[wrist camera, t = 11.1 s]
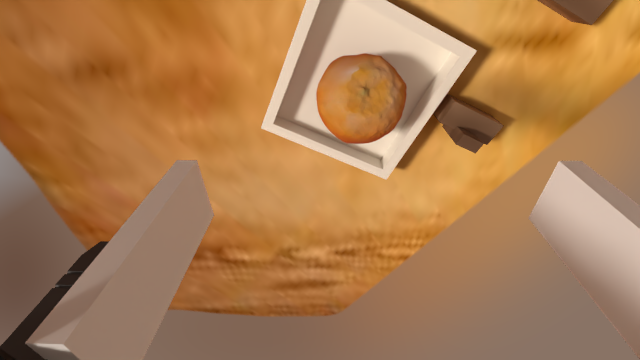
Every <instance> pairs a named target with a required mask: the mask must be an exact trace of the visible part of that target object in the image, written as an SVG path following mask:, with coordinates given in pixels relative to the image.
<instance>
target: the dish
mask: <svg viewBox="0 0 640 360" xmlns="http://www.w3.org/2000/svg"><path fill="white" fill-rule="evenodd" d="M476 51H477V50H475V49H473V48H471V47H469V46H468V45H466V44H464V43H462V42H460V41H459V40H457V39H455V38H453V37H451V36H450V35H448V34H446V33H444V32H442V31H441V30H439V29H437V28H435V27H433V26H431V25H430V24H428V23H426V22H424V21H422V20H421V19H419V18H417V17H415V16H413V15H412V14H410V13H408V12H406V11H404V10H403V9H401V8H399V7H397V6H395V5H394V4H392V3H390V2H388V1H386V0H307V1H306V3H305V6H304V9H303V12H302V15H301V17H300V20H299V23H298V26H297V29H296V31H295V34H294V37H293V40H292V43H291V45H290V48H289V51H288V54H287V57H286V59H285V62H284V65H283V68H282V71H281V73H280V76H279V79H278V82H277V85H276V87H275V90H274V93H273V96H272V99H271V101H270V104H269V107H268V110H267V113H266V115H265V118H264V121H263V124H262V127H261V128H262V129H264V130H267V131H269V132H272V133H274V134H276V135H279V136H281V137H284V138H286V139H289V140H291V141H293V142H296V143H298V144H301V145H303V146H306V147H308V148H311V149H313V150H315V151H318V152H320V153H323V154H325V155H328V156H330V157H332V158H335V159H337V160H340V161H342V162H345V163H347V164H350V165H352V166H354V167H357V168H359V169H362V170H364V171H367V172H369V173H371V174H374V175H376V176H379V177H381V178H384V179H387V178H388V176H389V175H390V174H391V172H392V171H393V169H394V168H395V167H396V165H397V164H398V162H399V161H400V159H401V158H402V157H403V155H404V154H405V152H406V151H407V149H408V148H409V147H410V145H411V144H412V142H413V141H414V140H415V138H416V137H417V135H418V134H419V132H420V131H421V130H422V128H423V127H424V125H425V124H426V122H427V121H428V120H429V118H430V117H431V115H432V114H433V113H434V111H435V110H436V108H437V107H438V105H439V104H440V103H441V101H442V100H443V98H444V97H445V95H446V94H447V93H448V91H449V90H450V88H451V87H452V86H453V84H454V83H455V81H456V80H457V78H458V77H459V76H460V74H461V73H462V71H463V70H464V68H465V67H466V66H467V64H468V63H469V61H470V60H471V58H472V57H473V56H474V54H475V53H476ZM364 53H367V54H372V55H379V56H382V57H383V58H384V59H385V60H386V61H387V62H388V63H390V64H391V65H392V66H393V67H394V68H395V69H396V71H397V72H398V74H399V75H400V76H401V77H402V79H403V80H404V82H405V83H406V86H407V89H406V94H407V95H406V102H405V107H404V110H403V113H402V117H401V119H400V120H399V122H398V123H397V125H396V126H395V128H394V129H393V130H392V131H391V132H390V133H388V134H387V135H385V136H384V137H382V138H380V139H379V140H377V141H374V142H371V143H364V144H351V143H345V142H343V141H341V140H340V139H338V138H337V137H336V136H335V135H333V134H332V133H331V132H330V131H329V130H328V129H327V127H326V126H325V125H324V123H323V121H322V120H321V117H320V115H319V113H318V108H317V100H316V92H317V87H318V83H319V81H320V79H321V78H322V76H323V74H324V72H325V70H326V69H327V67H328V66H329V64H330V63H331V62H332V61H334V60H335V59H337V58H339V57H341V56H346V55H359V54H364Z"/></svg>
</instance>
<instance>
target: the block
mask: <svg viewBox="0 0 640 360" xmlns="http://www.w3.org/2000/svg"><path fill="white" fill-rule="evenodd" d="M538 1H540V2H541V3H543V4H544V5H546V6H548V7H549V8H551V9H552V10H554V11H555V12H557V13H559V14H560V15H562V16H563V17H565V18H567V19H568V20H570V21H571V22H577V23H583V24H589V25H592V24H593V23H594V22H595V21H596V20H597V18H598V17H599V16H600V15H601V14H602V13H603V12H604V10H605V9H606V8H607V7H608V6H609V5H610V4H611V2H612V1H613V0H538ZM433 114H434V115H435V117H436V118H437V119H438V121H439V122H440V123H442V124H443V126H442V127H443V128H444V129H445V131H446V132H447V133H448V134H449V136H450V137H451V138H452V140H453V141H454V142H455V144H456V145H459V146H461V147H463V148H465V149H467V150H469V151H472V152H474V153H476V152H477V151H478V150H479V149H480V147H481V146H482V145H483V144H486V145H487V144H488V143H489V142H490V141H491V140H492V139H493V138H494V136H495V135H496V134H497V133H498V132H499V131H500V130H501V128H502V127H503V125H502V124H501V123H500V122H499V121H497V120H496V119H495V118H494V117H493V116H491V115H489V114H487V113H485V112H483V111H481V110H479V109H477V108H475V107H473V106H471V105H469V104H467V103H465V102H463V101H461V100H459V99H457V98H455V97H453V96H451V95H449V94H447V95H446V96H445V97H444V99H443V100H442V102H441V103H440V104H439V106H438V107H437V109H436V110H435V112H434V113H433Z"/></svg>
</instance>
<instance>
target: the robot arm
mask: <svg viewBox="0 0 640 360" xmlns="http://www.w3.org/2000/svg"><path fill="white" fill-rule="evenodd" d="M213 216H214V213H213V210H212V207H211V204H210V201H209V198H208V194H207V191H206V188H205V185H204V182H203V179H202V175H201V172H200V169H199V166H198V163H197V160H177V161H176V162H175V163H174V164H173V166H172V167H171V168H170V169H169V170H168V172H167V173H166V174H165V175H164V176H163V178H162V179H161V180H160V181H159V182H158V184H157V185H156V186H155V187H154V188H153V190H152V191H151V192H150V193H149V194H148V196H147V197H146V198H145V199H144V200H143V202H142V203H141V204H140V205H139V206H138V208H137V209H136V210H135V211H134V212H133V214H132V215H131V216H130V217H129V219H128V220H127V221H126V222H125V223H124V225H123V226H122V227H121V228H120V229H119V231H118V232H117V233H116V234H115V235H114V237H113V238H112V239H111V240H110V241H109V242H99V243H98V244H96V245H95V246H94V247H92V248H91V249H90V250H88V251H87V252H85V253H84V254H83V255H81V257H80V258H79V259H78V260H77V261H76V262H75V263H74V264H73V266H72V267H71V268H70V269H69V270H68V273H67V274H65V275H64V276H63V277H62V278H61V279H60V280H59V281H58V282H57V284H56V287H55V288H52V289H51V290H50V291H49V293H48V294H47V295H46V296H45V297H44V298H43V299H42V300H41V302H40V303H39V304H38V305H37V306H36V307H35V308H34V310H33V311H32V312H31V313H30V314H29V315H28V316H27V317H26V318H25V320H24V321H23V322H22V323H21V324H20V325H19V326H18V327H17V328H16V330H15V331H14V332H13V333H12V334H11V335H10V336H9V338H8V339H7V340H6V341H5V342H4V343H3V344H2V345H1V346H0V360H143V358H144V356H145V354H146V352H147V350H148V348H149V346H150V344H151V342H152V339H153V338H154V336H155V334H156V332H157V330H158V327H159V326H160V323H161V321H162V319H163V317H164V315H165V313H166V311H167V309H168V307H169V305H170V303H171V301H172V299H173V297H174V295H175V293H176V291H177V289H178V287H179V285H180V283H181V281H182V279H183V277H184V275H185V273H186V271H187V269H188V267H189V265H190V263H191V261H192V259H193V257H194V255H195V253H196V250H197V248H198V246H199V244H200V242H201V240H202V238H203V236H204V234H205V232H206V230H207V228H208V226H209V224H210V222H211V220H212V218H213ZM529 219H530V221H531V222H532V223H533V224H534V226H535V227H536V228H537V230H538V231H539V232H540V233H541V234H542V236H543V237H544V238H545V240H546V241H547V242H548V244H549V245H550V246H551V247H552V249H553V250H554V251H555V252H556V254H557V255H558V256H559V258H560V259H561V260H562V261H563V263H564V264H565V265H566V266H567V268H568V269H569V270H570V272H571V273H572V274H573V275H574V277H575V278H576V279H577V280H578V282H579V283H580V284H581V285H582V287H583V288H584V289H585V291H587V293H588V294H589V296H590V297H591V298H592V299H593V301H594V302H595V303H596V305H597V306H598V307H599V308H600V310H601V311H602V312H603V313H604V315H605V316H606V317H607V319H608V320H609V321H610V322H611V323H612V325H613V326H614V327H615V329H616V330H617V331H618V332H619V334H620V335H621V336H622V338H623V339H624V340H625V341H626V343H627V344H628V345H629V347H630V348H631V349H632V350H633V351H634V353H635V354H636V355H637V357H638V358H639V359H640V206H639V205H638V204H637V203H636V202H634V201H633V200H632V199H630V198H629V197H628V196H627V195H625V194H624V193H623V192H621V191H620V190H619V189H617V188H616V187H615V186H614V185H612V184H611V183H610V182H608V181H607V180H606V179H604V178H603V177H602V176H600V175H599V174H598V173H596V172H595V171H594V170H593V169H591V168H590V167H589V166H587V165H586V164H585V163H584V162H582V161H559V162H558V164H557V166H556V168H555V170H554V171H553V173H552V175H551V177H550V179H549V181H548V183H547V185H546V186H545V188H544V190H543V192H542V194H541V196H540V198H539V200H538V202H537V204H536V205H535V207H534V209H533V211H532V213H531V215H530V216H529Z"/></svg>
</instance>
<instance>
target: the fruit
mask: <svg viewBox="0 0 640 360" xmlns="http://www.w3.org/2000/svg"><path fill="white" fill-rule="evenodd" d="M406 89H407V86H406V83H405V82H404V80H403V79H402V77H401V76H400V75H399V74H398V72H397V71H396V69H395V68H394V67H393V66H392V65H391V64H390V63H388V62H387V61H386V60H385V59H384V58H383V57H382V56H379V55H372V54H367V53H364V54H359V55H346V56H341V57H339V58H337V59H335V60H334V61H332V62H331V63H330V64H329V66H328V67H327V69H326V70H325V72H324V74H323V76H322V78H321V79H320V81H319V83H318V87H317V92H316V100H317V108H318V113H319V115H320V117H321V120H322V121H323V123H324V125H325V126H326V127H327V129H328V130H329V131H330V132H331V133H332V134H333V135H335V136H336V137H337V138H338V139H340V140H341V141H343V142H345V143H351V144H364V143H371V142H374V141H377V140H379V139H380V138H382V137H384V136H385V135H387V134H388V133H390V132H391V131H392V130H393V129H394V128H395V126H396V125H397V123H398V122H399V120H400V119H401V117H402V113H403V110H404V107H405V102H406V95H407V94H406Z"/></svg>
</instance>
